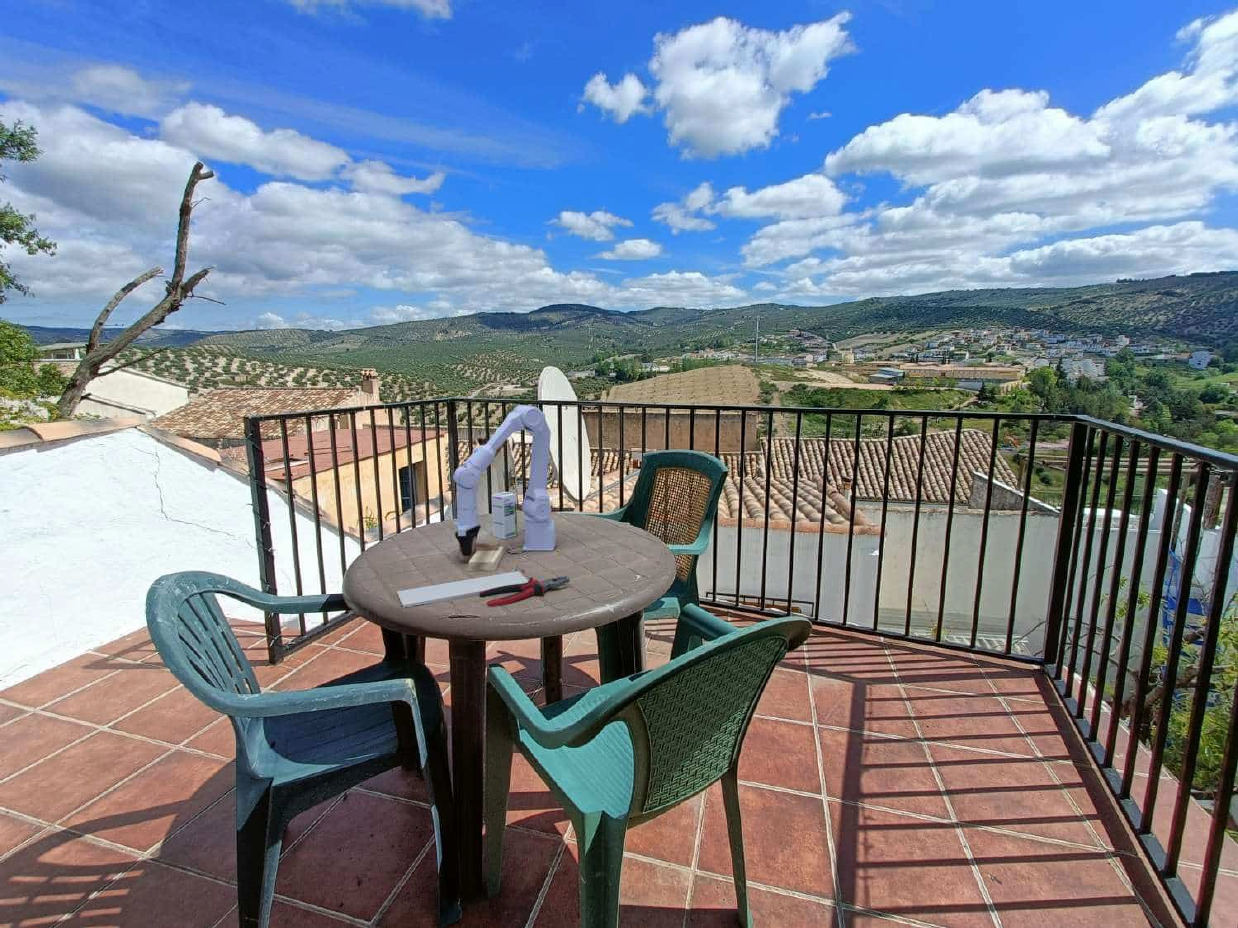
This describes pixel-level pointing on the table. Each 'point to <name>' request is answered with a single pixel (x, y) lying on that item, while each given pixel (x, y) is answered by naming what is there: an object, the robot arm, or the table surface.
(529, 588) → the pliers
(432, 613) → the table surface
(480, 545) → the wooden mallet
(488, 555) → the plank
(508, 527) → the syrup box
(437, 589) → the baseboard
